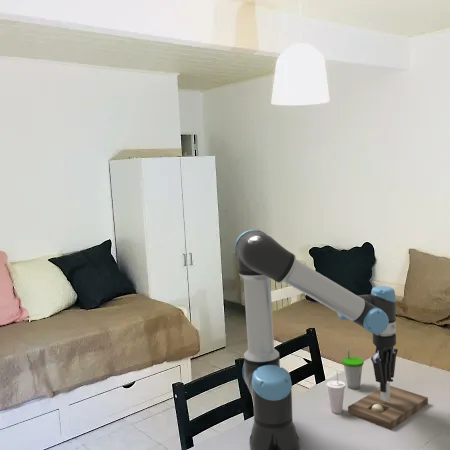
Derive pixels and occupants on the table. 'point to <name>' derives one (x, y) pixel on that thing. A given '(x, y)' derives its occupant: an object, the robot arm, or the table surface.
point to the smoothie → (336, 394)
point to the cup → (353, 371)
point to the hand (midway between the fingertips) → (385, 399)
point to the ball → (377, 408)
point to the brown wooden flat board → (388, 407)
